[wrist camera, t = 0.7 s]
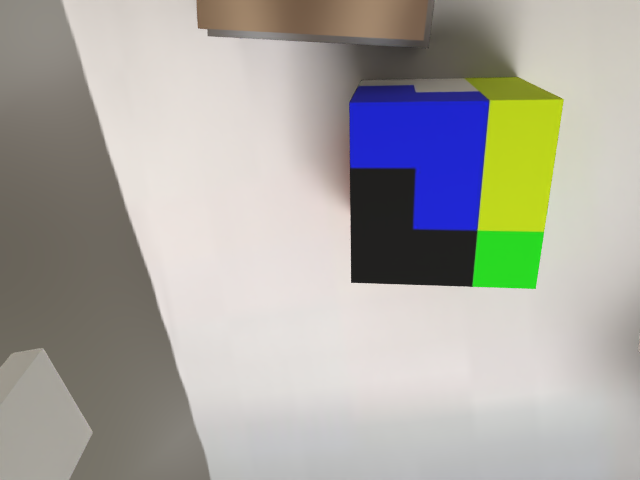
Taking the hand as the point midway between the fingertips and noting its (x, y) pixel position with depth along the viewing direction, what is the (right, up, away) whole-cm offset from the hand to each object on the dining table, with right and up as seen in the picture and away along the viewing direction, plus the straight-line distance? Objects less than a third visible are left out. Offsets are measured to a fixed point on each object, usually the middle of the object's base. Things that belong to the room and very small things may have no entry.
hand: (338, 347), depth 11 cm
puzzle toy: (+8, +8, +24) cm, 27 cm away
